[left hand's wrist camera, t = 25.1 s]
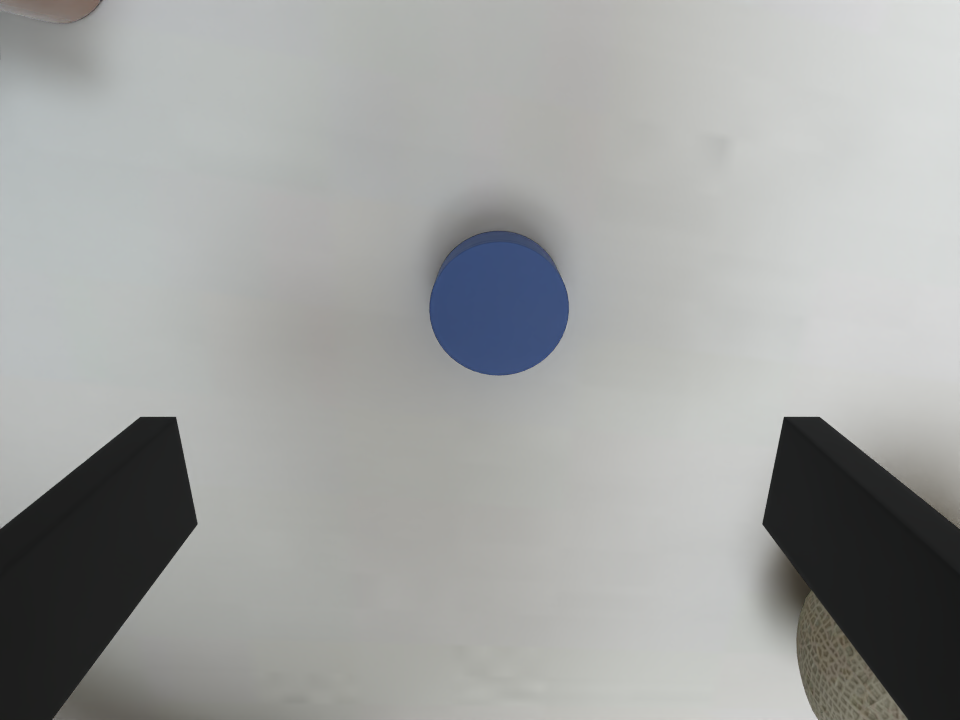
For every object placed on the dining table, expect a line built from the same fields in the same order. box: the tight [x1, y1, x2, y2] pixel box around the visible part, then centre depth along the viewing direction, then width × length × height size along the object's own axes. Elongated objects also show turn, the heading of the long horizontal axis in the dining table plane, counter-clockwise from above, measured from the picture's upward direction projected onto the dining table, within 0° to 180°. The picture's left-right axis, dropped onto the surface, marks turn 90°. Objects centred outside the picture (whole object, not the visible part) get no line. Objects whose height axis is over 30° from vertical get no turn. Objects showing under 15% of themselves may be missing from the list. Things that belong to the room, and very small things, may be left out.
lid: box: [430, 231, 569, 375], centre depth 23 cm, size 5×5×2 cm
